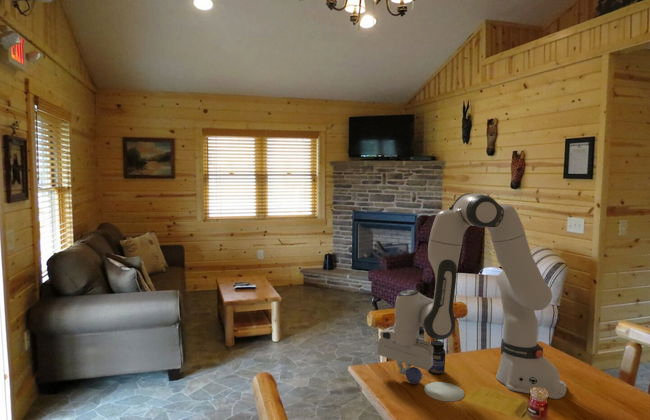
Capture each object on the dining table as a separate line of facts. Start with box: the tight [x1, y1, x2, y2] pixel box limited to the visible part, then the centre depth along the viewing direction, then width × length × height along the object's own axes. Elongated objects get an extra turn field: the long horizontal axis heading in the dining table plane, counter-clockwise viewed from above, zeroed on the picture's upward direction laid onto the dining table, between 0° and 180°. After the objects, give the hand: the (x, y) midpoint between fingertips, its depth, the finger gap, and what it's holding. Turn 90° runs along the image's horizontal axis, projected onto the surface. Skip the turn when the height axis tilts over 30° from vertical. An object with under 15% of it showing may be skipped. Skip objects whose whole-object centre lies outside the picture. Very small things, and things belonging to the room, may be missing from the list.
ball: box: [405, 366, 423, 385], centre depth 158 cm, size 6×6×6 cm
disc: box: [423, 381, 465, 403], centre depth 152 cm, size 13×13×1 cm
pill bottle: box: [427, 339, 446, 376], centre depth 167 cm, size 6×6×11 cm
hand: (403, 373), depth 160 cm, fingers closed
